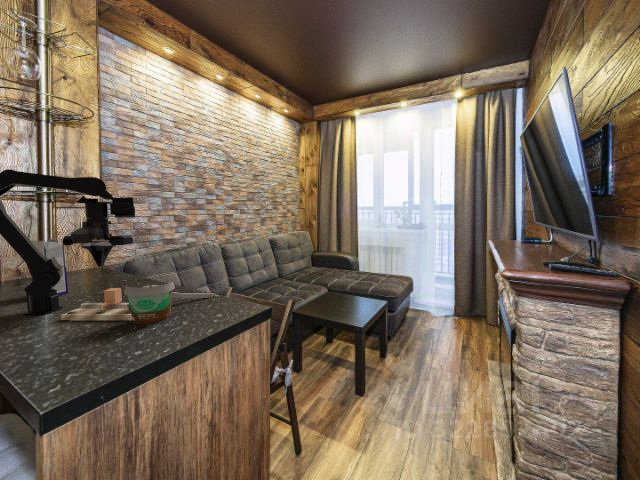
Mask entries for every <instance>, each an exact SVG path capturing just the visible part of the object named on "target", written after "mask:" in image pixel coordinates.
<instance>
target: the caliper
mask: <svg viewBox="0 0 640 480" xmlns="http://www.w3.org/2000/svg"><path fill="white" fill-rule="evenodd" d="M214 295H215V296H214ZM213 296H214V297H218V296H219V295H217V294H216V293H213V292H202V293H201V292H200V293H199V292H198V293H197V292H195V293H193V292H192V293H191V292H190V293H187V292H186V293H180V292H178V291H177V292H175V291H174V292H173V291H172V299H171V302H178V301H179V299H208V298H209V299H211V298H214V297H213ZM210 297H211V298H210Z"/></svg>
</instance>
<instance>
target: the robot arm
mask: <svg viewBox="0 0 640 480" xmlns="http://www.w3.org/2000/svg"><path fill="white" fill-rule="evenodd" d="M19 185H20V186H29V187H36V188H45V189H55V190H56V189H57V190H63V191H64V190H65V191H71V192H74V193H77V194H81V198H79V199H78V200H76V203H77V204H84V209H85V210H84V213H85V221H82V223H81V225H82V226H81V227H80V228H77V229H75V230H74V231H72V232H70V235H64V236H63V238H62V240H61V241H62V244H63V245H65V246H73V245H76V244H82V246H81V248H82V249H86V250H87V251H89V253H90V255H91V256H92V259H93V260H94V262H95V263H96V265H97V267H98V268H102V267H104V265H105V263H106V261H107V258H108V257H109V254H110V252H111V251H112V249H113V248H114V247H116V246H126V245H130V244H134V238H133V236H132V235H131V234H119V235H118V234H117V235H113V233H110V226H109V225H112V220H109V213H110V215H111V216H114V218H115V219H124V218H125V219H126V218H127V219H129V218H132V219H133V218H136V207H135V205H134V197H132V196H131V197H130V196H128V197H114V196H113V194H111V193H110V192H109V191H108V190H107V185H106V183H105V181H103V180H102V179H101V178H98V177H96V176H79V177H78V176H77V177H75V176H74V177H65V176H59V175H50V174H43V173H42V174H41V173H35V172H27V171H20V170H19V171H18V170H14V169H3V170H1V171H0V197H1V196H4V195H5V194H7V192H9V191H10V190H12V189H13V188H15V187H16V186H19ZM86 196H91V198H90V197H89V198H88V197H86ZM92 197H94V198H92ZM96 197H98V198H96ZM99 198H102V199H103V200H106V201H99ZM108 205H109V209H110V211H109V212H108V210H109V209H108ZM0 236H1V237H2V238H3V239H4V240H5V241H6V242H7V244H8V245H9V246H10V247H12V249H13V251H14V252H15V253H16V254H17V255H18V256H19V257H20V258H21V259H22V260H23V262H24V263H25V264H26V267H27V270H28V272H29V274H30V276H31V279H32V278H33V279H34V281H33V282H32V281H31V282H30V283H29V284H28V285H27V286H25V288H24V292H25V296H26V304H27V307H26V308H27V311H24V312H22V316H23V315H24V316H27V315H28V316H29V315H31V316H32V315H36V316H37V315H47V314H50V313H53V312H55V311H58V310H60V309H63V305H60V299H59V297H60V296H58V295H57V290H55V289H52V288H53V287H54V286H55V285H56V284H57V283H58V282H59V281H60V280H61V278H62V277H63V270H62V268H63V266H61V265H60V264H59V263H58V262H57V260H56V258H55V257H52V258H50V259H48V258H47V257H45V256H44V255H42V254H41V253H40V251H39V250H38V249H37V248H36V247H35V246H34V244H33V243H32V242H31V241H32V240H31V239H30V238H29V237H28V236H27V235H26V234H25V232H23V230H22V229H21V228H20V227H19V225H18V224H17V223H16V222H15V221H14V220H13V219H12V217H11V216H10V215H9V214H8V212H7V210H6V207H5V205H4V202H3V200H2V199H1V198H0Z"/></svg>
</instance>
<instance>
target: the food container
mask: <svg viewBox="0 0 640 480" xmlns="http://www.w3.org/2000/svg"><path fill="white" fill-rule="evenodd" d="M175 287H176V286H175V283H174V282H173V280H171V282H169V283H165V284H146V285H142V286H137V287H130V286H127V285H125V287H124V292H123V294H124V295H125V296H127V299H128V303H129V306H130V311H131V317H132V320H131V321H132V323H134V324H137V325H152V324H156V323H161V322H164V321H165V320H168V319H169V318H170V317H171V310H172V301H171V299H172V292H173V290H174V289H175Z"/></svg>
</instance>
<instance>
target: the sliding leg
mask: <svg viewBox="0 0 640 480" xmlns="http://www.w3.org/2000/svg"><path fill="white" fill-rule="evenodd" d="M103 294H104V296H103V299H104V302H101V303H102V304H99V307H100V311H103V306H105V305H107V304H117V303H122V301H123V299H122V298H123V297H122V287H111V288H108V289H105V290H104V291H103Z"/></svg>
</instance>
